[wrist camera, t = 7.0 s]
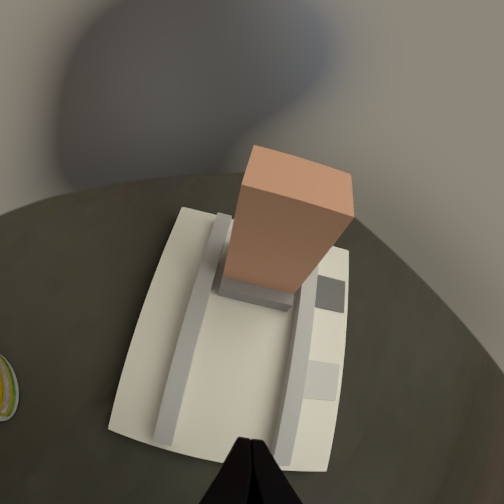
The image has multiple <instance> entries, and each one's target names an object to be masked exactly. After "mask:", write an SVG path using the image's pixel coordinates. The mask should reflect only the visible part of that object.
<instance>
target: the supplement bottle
mask: <svg viewBox="0 0 504 504" xmlns="http://www.w3.org/2000/svg"><path fill="white" fill-rule="evenodd" d="M18 401H19V388H18V382H17V379H16V375H15V373H14V370H13V368H12V367H11V365H10V363H9V362H8V361H7V360H6V358H5V357H3V356H2V355H1V354H0V421H6V420H8V419H10V418H11V417H12V416H13V415H14V413H15V411H16V409H17V406H18Z"/></svg>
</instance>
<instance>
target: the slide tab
mask: <svg viewBox="0 0 504 504" xmlns="http://www.w3.org/2000/svg"><path fill="white" fill-rule="evenodd" d="M353 208H354V207H353V194H352V181H351V174H348V173H345V172H342V171H339V170H336V169H334V168H331V167H328V166H325V165H322V164H318V163H315V162H312V161H309V160H306V159H302V158H299V157H296V156H292V155H289V154H285V153H282V152H278V151H275V150H271V149H267V148H263V147H260V146H256V145H254V147H253V150H252V153H251V156H250V160H249V162H248V166H247V169H246V172H245V175H244V178H243V181H242V185H241V189H240V194H239V199H238V203H237V208H236V213H235V218H234V223H233V227H232V232H231V237H230V242H229V247H228V252H227V257H226V262H225V267H224V273H223V277H222V281H221V285H220V289H219V296H223V297H227V298H231V299H235V300H239V301H243V302H247V303H251V304H255V305H259V306H263V307H268V308H272V309H276V310H281V311H285V312H287V311H288V310H289V309H290V308H291V307H292V305H293V298H294V294H295V292H296V291H297V290H298V289H299V287H300V286H301V285H302V284H303V283H304V281H305V280H306V279H307V278H308V276H309V275H310V274H311V273H312V271H313V270H314V269H315V268H316V266H317V265H318V264H319V263H320V261H321V260H322V259H323V257H324V256H325V255H326V254H327V252H328V251H329V250H330V248H331V247H332V246H333V245H334V243H335V242H336V241H337V239H338V238H339V237H340V235H341V234H342V233H343V231H344V230H345V229H346V227H347V226H348V225H349V223H350V222H351V221H352V219H353V218H354V209H353Z"/></svg>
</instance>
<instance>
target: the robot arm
mask: <svg viewBox="0 0 504 504" xmlns="http://www.w3.org/2000/svg"><path fill="white" fill-rule="evenodd" d="M199 504H303V503H302V502H301V500H300V499H299V497H298V496H297V494H296V493H295V491H294V490H293V488H292V486H291V485H290V483H289V482H288V480H287V479H286V477H285V475H284V474H283V472H282V470H281V469H280V467H279V465H278V464H277V462H276V460H275V459H274V457H273V455H272V454H271V452H270V450H269V448H268V447H267V445H266V443H265V442H264V441H263V440H260V439H251V440H250V438H246V437H237V439H236V441H235V442H234V444H233V446H232V448H231V450H230V452H229V453H228V455H227V457H226V459H225V460H224V462H223V464H222V466H221V468H220V469H219V471H218V473H217V474H216V476H215V478H214V480H213V481H212V483H211V485H210V486H209V488H208V490H207V491H206V493H205V494H204V496H203V498H202V499H201V501H200V503H199Z"/></svg>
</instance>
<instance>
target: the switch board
mask: <svg viewBox="0 0 504 504" xmlns="http://www.w3.org/2000/svg"><path fill="white" fill-rule="evenodd" d="M231 218H232V216H230V215H226V214H222V213H217V215H214V214H210V213H206V212H202V211H198V210H194V209H190V208H185V207H182V208H181V211H180V213H179V215H178V218H177V220H176V222H175V225H174V227H173V229H172V232H171V234H170V237H169V239H168V241H167V244H166V246H165V249H164V251H163V254H162V256H161V259H160V261H159V264H158V267H157V269H156V272H155V274H154V277H153V280H152V282H151V285H150V288H149V291H148V293H147V296H146V299H145V302H144V305H143V308H142V310H141V313H140V316H139V319H138V322H137V325H136V328H135V331H134V335H133V338H132V341H131V344H130V347H129V351H128V354H127V357H126V361H125V364H124V368H123V371H122V375H121V378H120V382H119V386H118V389H117V393H116V397H115V401H114V405H113V409H112V413H111V418H110V422H109V426H108V429H109V430H111V431H114V432H116V433H119V434H121V435H124V436H127V437H129V438H132V439H135V440H138V441H141V442H144V443H147V444H150V445H153V446H156V447H159V448H162V449H166V450H169V451H173V452H176V453H180V454H184V455H188V456H192V457H197V458H201V459H206V460H210V461H216V462H221V463H223V462H224V460H225V459H226V457H227V455H228V453H229V452H230V450H231V448H232V446H233V444H234V442H235V441H236V439H237V437H246V438H250V440H251V439H260V440H263V441H264V442H265V443H266V445H267V447H268V448H269V450H270V452H271V454H272V455H273V457H274V459H275V460H276V462H277V464H278V465H279V467H280V469H281V470H289V471H327V466H328V462H329V457H330V452H331V447H332V441H333V436H334V430H335V424H336V418H337V411H338V404H339V397H340V389H341V381H342V372H343V363H344V352H345V340H346V325H347V307H348V275H349V251H348V250H344V249H341V248H337V247H334V246H332V247H331V248H330V250H329V251H328V252H327V254H326V255H325V256H324V257H323V259H322V260H321V261H320V263H319V264H318V265H317V266H316V268H315V269H314V270H313V271H312V273H311V274H310V275H309V276H308V278H307V279H306V280H305V281H304V283H303V284H302V285H301V286H300V287H299V289H298V290H297V291H296V292H295V294H294V298H293V305H292V307H291V308H290V309H289V310H288V311H287V312H285V311H281V310H276V309H272V308H268V307H263V306H259V305H255V304H251V303H247V302H243V301H239V300H235V299H231V298H227V297H223V296H219V289H220V285H221V281H222V277H223V273H224V267H225V262H226V257H227V252H228V247H229V242H230V237H231V232H232V227H233V223H234V219H231Z"/></svg>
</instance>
